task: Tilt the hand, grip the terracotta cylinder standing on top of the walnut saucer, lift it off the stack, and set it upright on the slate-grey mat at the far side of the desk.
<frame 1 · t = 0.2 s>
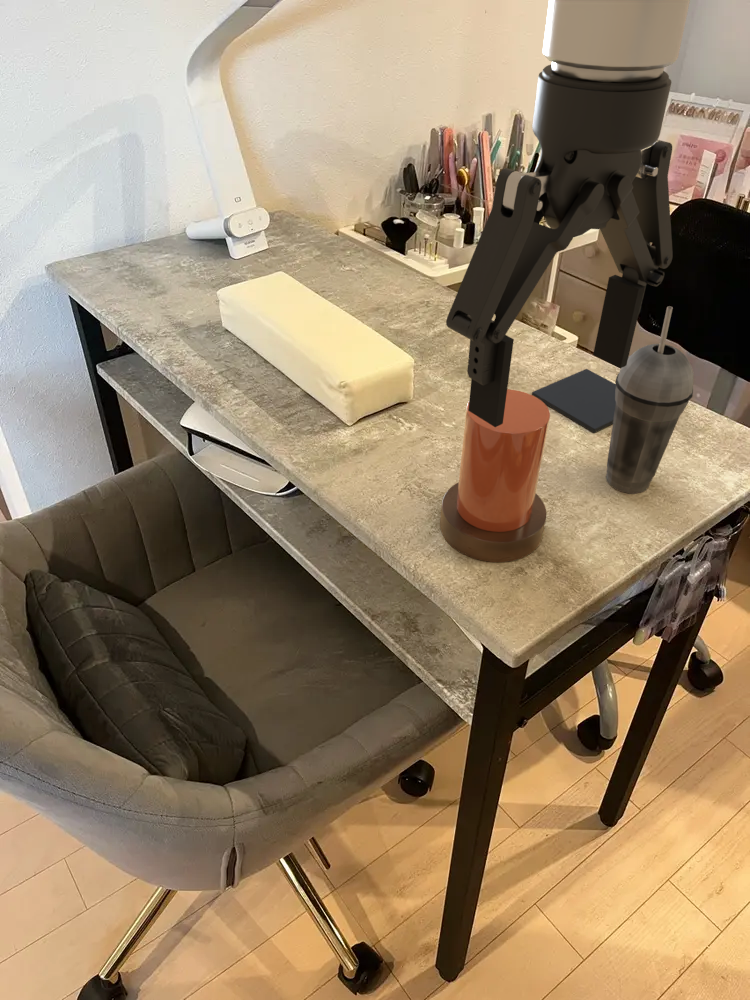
hand: (550, 387, 58), 20 cm above the table, tool pointing down, fingers open, 13 cm apart
beverage cup: (627, 481, 81), on the table
mat: (589, 401, 94), on the table
saucer: (491, 527, 75), on the table
terracotta cylinder: (493, 507, 74), point 2 cm above the table, touching saucer
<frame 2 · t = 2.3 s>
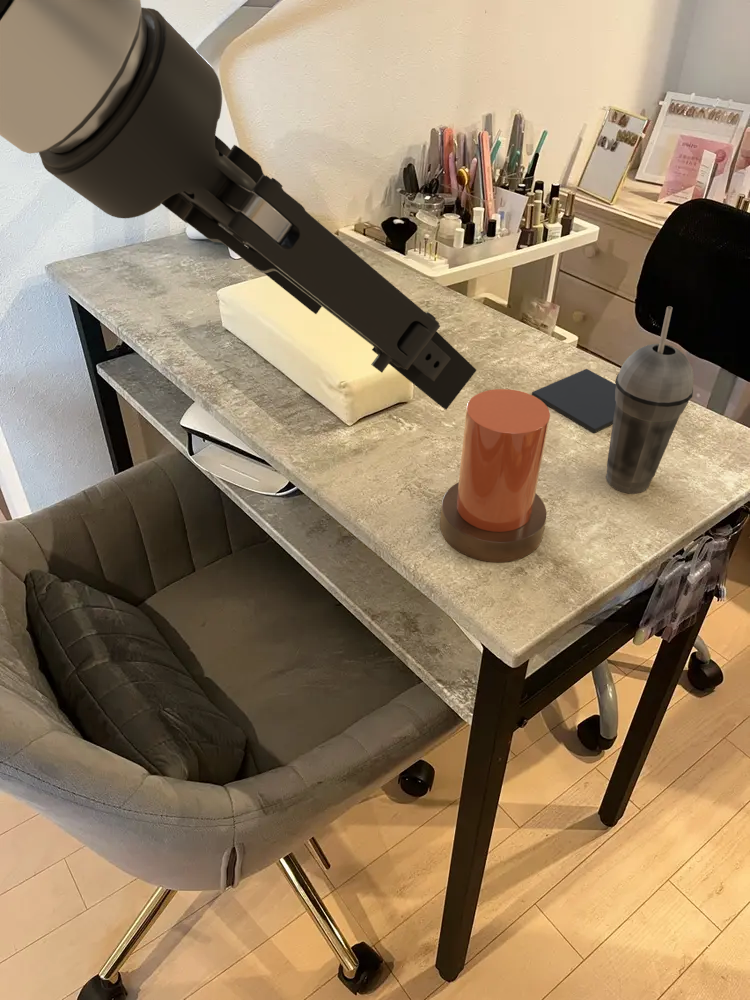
hand: (385, 337, 46), 28 cm above the table, tool tilted 45°, fingers open, 13 cm apart
nothing on the table moved.
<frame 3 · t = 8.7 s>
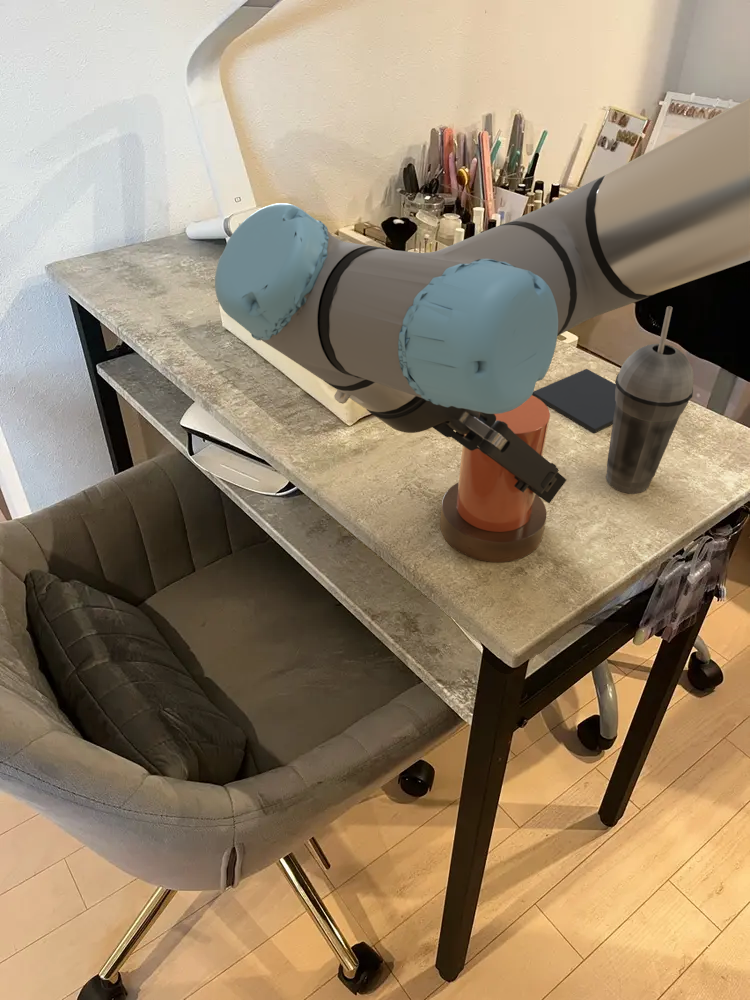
hand: (523, 468, 73), 6 cm above the table, tool tilted 45°, fingers closed on terracotta cylinder, 7 cm apart
terracotta cylinder: (493, 507, 74), point 3 cm above the table, touching gripper, saucer
everything else where it was.
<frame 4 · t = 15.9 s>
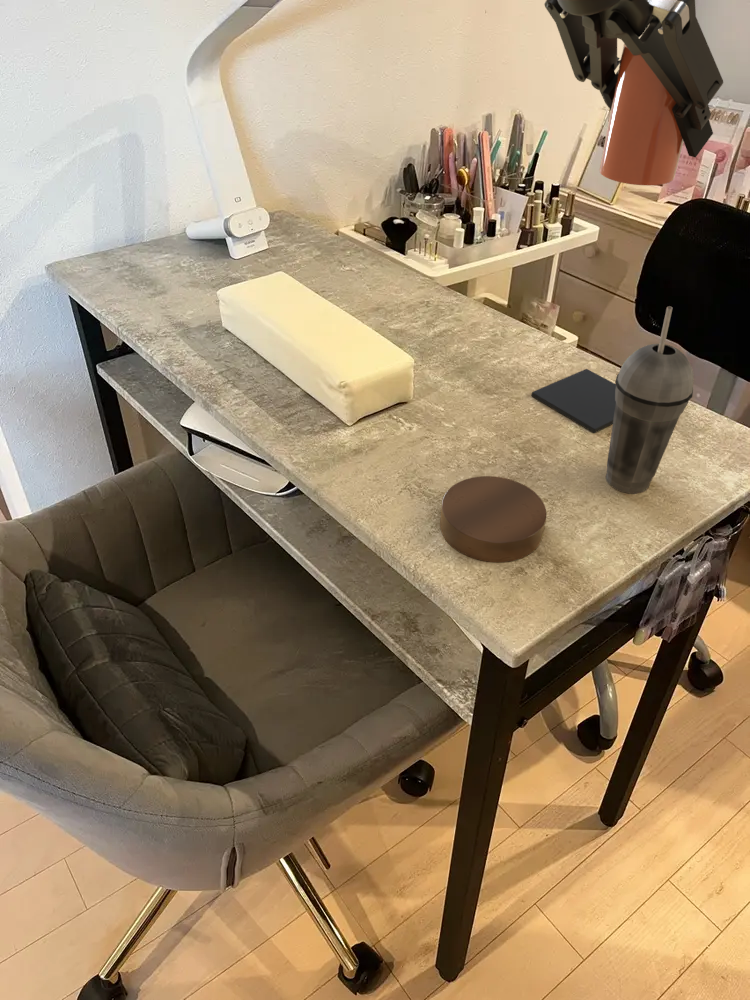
hand: (666, 135, 76), 30 cm above the table, tool tilted 45°, fingers closed on terracotta cylinder, 7 cm apart
terracotta cylinder: (636, 174, 76), point 27 cm above the table, touching gripper
everything else where it was.
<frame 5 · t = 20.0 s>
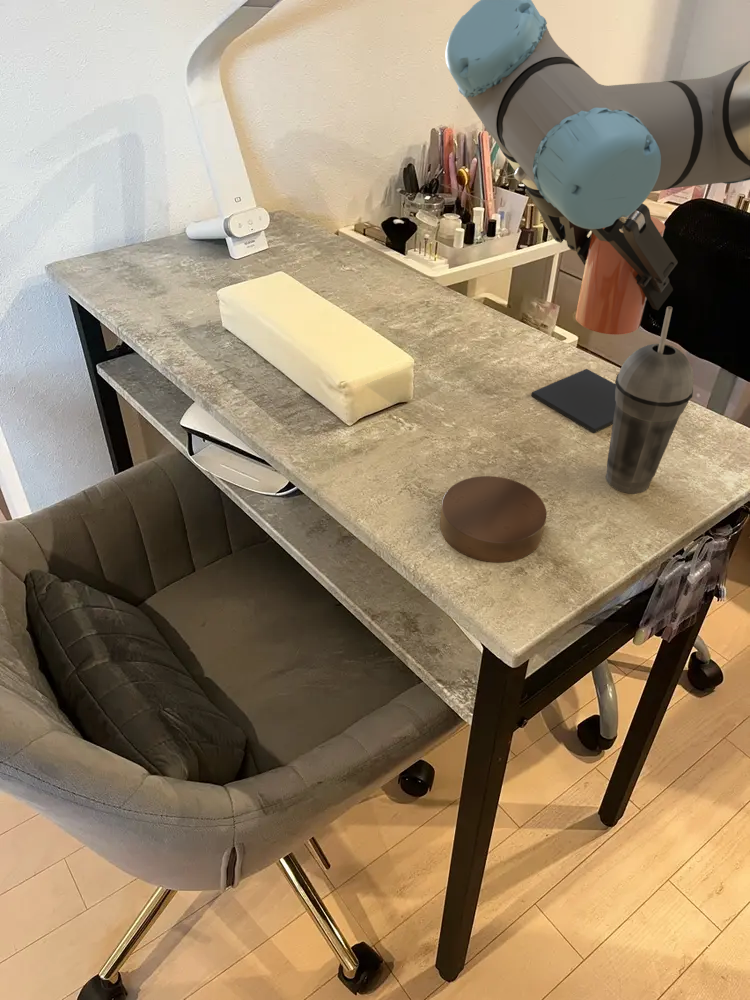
hand: (633, 286, 86), 14 cm above the table, tool tilted 45°, fingers closed on terracotta cylinder, 7 cm apart
terracotta cylinder: (607, 320, 87), point 11 cm above the table, touching gripper
everything else where it was.
when the fingers open (4 cm above the table, at t = 23.1 s): terracotta cylinder stays where it is, resting on mat.
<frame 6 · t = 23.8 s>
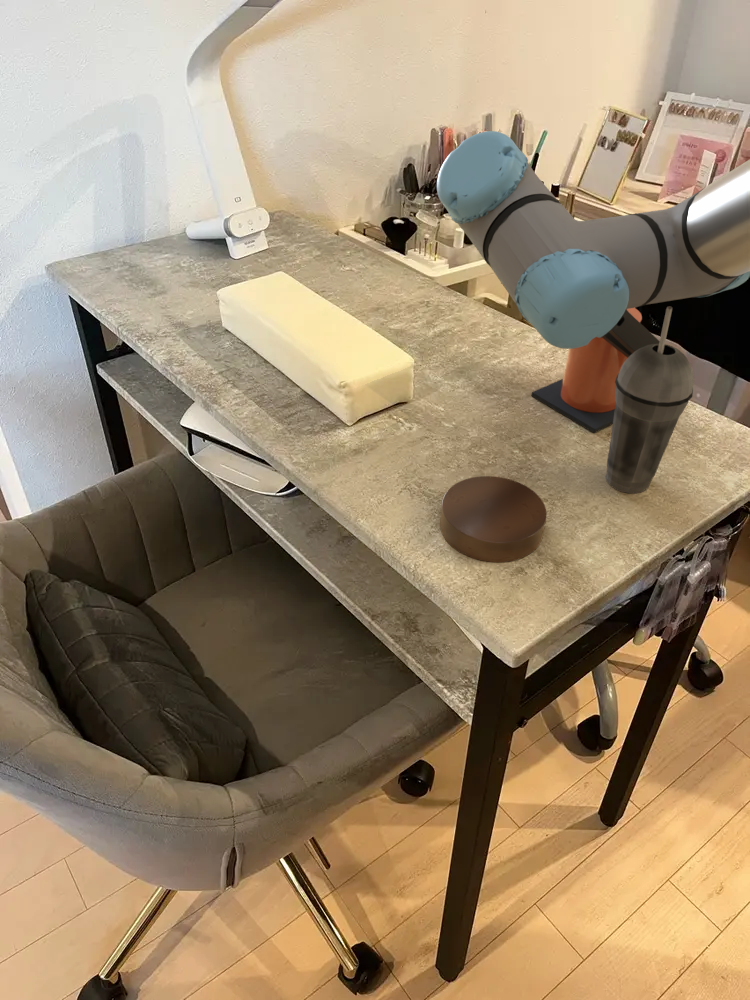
hand: (611, 357, 91), 5 cm above the table, tool tilted 45°, fingers open, 13 cm apart
terracotta cylinder: (590, 396, 93), point 1 cm above the table, touching mat
everything else where it was.
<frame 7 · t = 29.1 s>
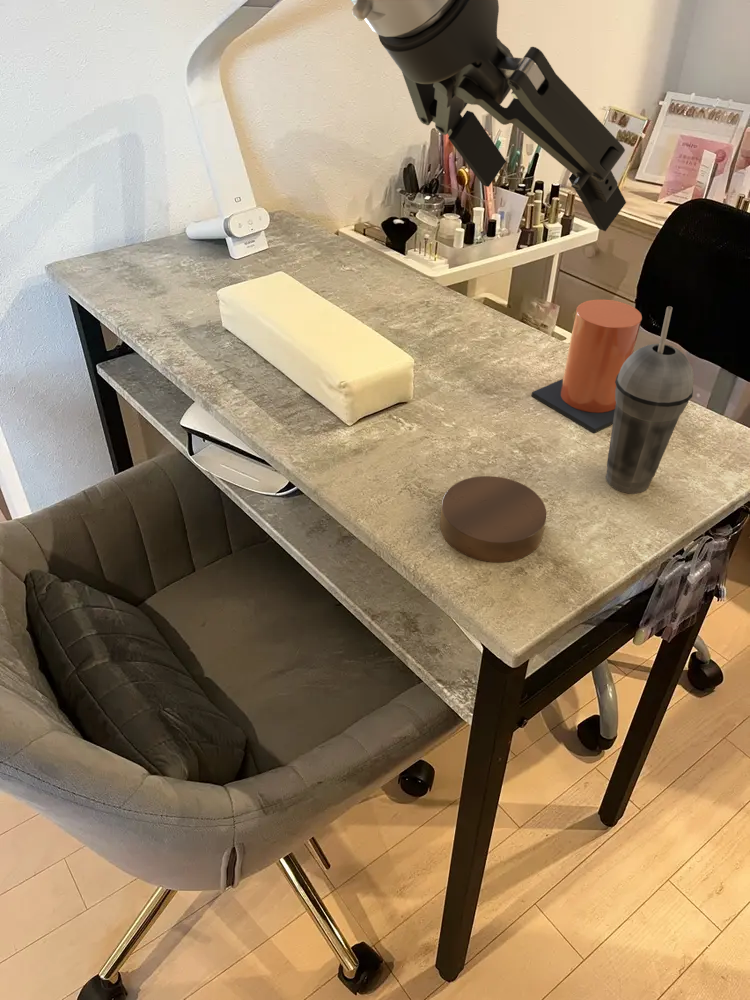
hand: (549, 193, 65), 29 cm above the table, tool tilted 45°, fingers open, 13 cm apart
nothing on the table moved.
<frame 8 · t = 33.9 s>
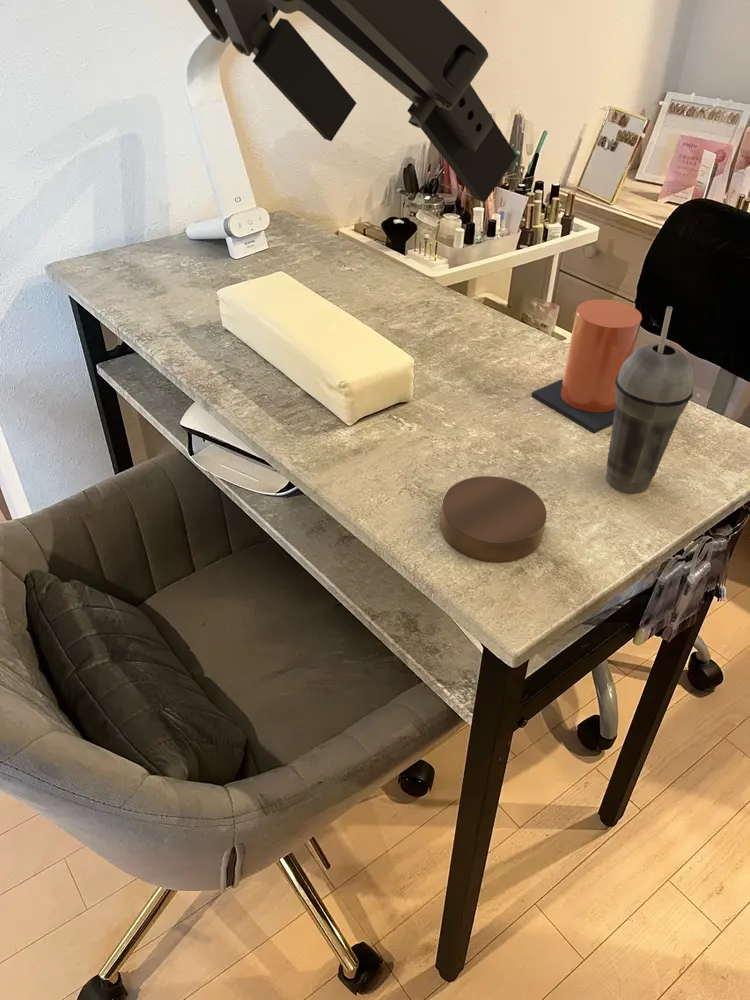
hand: (410, 147, 43), 38 cm above the table, tool tilted 45°, fingers open, 13 cm apart
nothing on the table moved.
at the end: terracotta cylinder inside the target area on the mat (0.0 cm from its centre), point 0.6 cm above the mat's base; terracotta cylinder tilted 0°; the gripper is holding nothing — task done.
